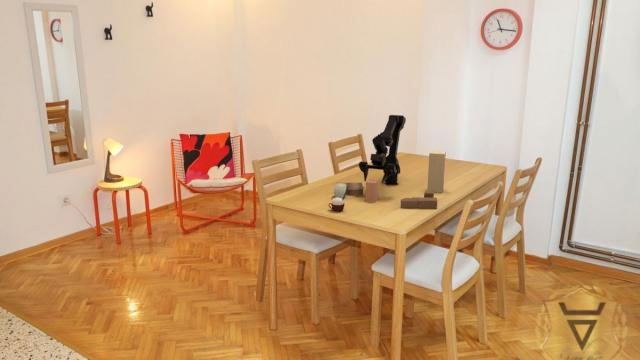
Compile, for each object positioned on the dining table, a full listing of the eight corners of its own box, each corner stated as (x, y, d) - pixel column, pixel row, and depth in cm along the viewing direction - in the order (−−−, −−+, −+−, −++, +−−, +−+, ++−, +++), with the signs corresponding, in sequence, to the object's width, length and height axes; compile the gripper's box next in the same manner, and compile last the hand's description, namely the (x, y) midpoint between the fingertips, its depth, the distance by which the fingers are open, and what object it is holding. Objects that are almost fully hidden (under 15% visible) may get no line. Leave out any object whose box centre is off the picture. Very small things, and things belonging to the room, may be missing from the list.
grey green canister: (346, 195, 272) (346, 182, 271) (346, 199, 267) (346, 186, 265) (334, 195, 273) (334, 182, 271) (334, 199, 267) (334, 186, 265)
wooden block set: (439, 198, 248) (401, 198, 250) (438, 209, 250) (400, 209, 251) (434, 188, 265) (398, 188, 266) (434, 199, 266) (398, 198, 268)
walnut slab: (362, 187, 287) (362, 182, 286) (363, 195, 273) (363, 189, 272) (336, 187, 287) (336, 182, 286) (336, 195, 274) (336, 189, 273)
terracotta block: (368, 198, 267) (369, 179, 265) (378, 199, 266) (378, 180, 263) (365, 201, 263) (366, 182, 260) (375, 202, 261) (375, 183, 259)
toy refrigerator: (444, 189, 282) (446, 151, 276) (442, 193, 275) (444, 154, 269) (429, 188, 284) (430, 150, 279) (427, 192, 277) (428, 153, 272)
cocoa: (327, 211, 249) (325, 187, 246) (333, 207, 254) (332, 183, 251) (344, 213, 244) (343, 189, 241) (351, 209, 250) (349, 185, 246)
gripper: (359, 145, 268) (352, 171, 261) (395, 148, 260) (388, 175, 253) (364, 157, 277) (357, 183, 270) (399, 160, 269) (392, 186, 262)
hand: (373, 181), depth 263 cm, fingers open, 9 cm apart
